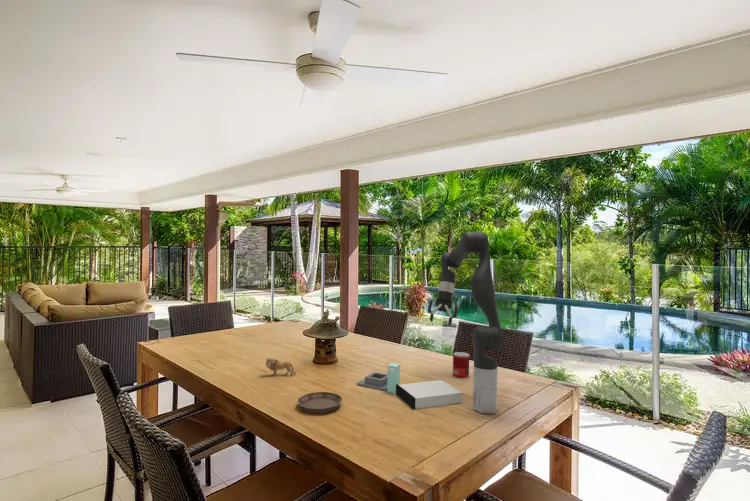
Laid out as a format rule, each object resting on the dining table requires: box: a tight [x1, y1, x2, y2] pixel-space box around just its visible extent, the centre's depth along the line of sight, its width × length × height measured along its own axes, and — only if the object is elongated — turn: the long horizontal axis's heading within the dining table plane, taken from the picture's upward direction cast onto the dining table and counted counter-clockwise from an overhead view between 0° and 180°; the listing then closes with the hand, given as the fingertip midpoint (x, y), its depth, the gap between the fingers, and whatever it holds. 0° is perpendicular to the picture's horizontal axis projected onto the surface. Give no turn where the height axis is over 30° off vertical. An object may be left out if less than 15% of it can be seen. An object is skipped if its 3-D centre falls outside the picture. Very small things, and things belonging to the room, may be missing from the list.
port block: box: [356, 371, 388, 392], centre depth 197 cm, size 16×12×4 cm
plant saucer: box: [297, 391, 343, 414], centre depth 169 cm, size 18×18×3 cm
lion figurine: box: [265, 357, 297, 378], centre depth 207 cm, size 15×5×9 cm, turn 107°
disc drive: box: [395, 379, 463, 410], centre depth 180 cm, size 18×22×5 cm
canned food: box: [452, 351, 470, 379], centre depth 213 cm, size 8×8×11 cm
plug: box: [386, 362, 401, 395], centre depth 188 cm, size 4×4×12 cm
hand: (440, 323), depth 209 cm, fingers open, 8 cm apart
